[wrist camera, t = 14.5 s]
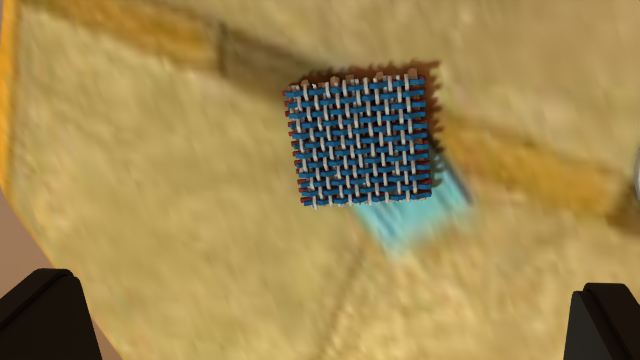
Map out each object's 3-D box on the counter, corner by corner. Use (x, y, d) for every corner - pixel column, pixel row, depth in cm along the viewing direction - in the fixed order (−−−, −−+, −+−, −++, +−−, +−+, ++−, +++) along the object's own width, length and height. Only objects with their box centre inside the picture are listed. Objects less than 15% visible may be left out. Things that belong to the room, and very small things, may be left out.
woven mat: (282, 79, 40) (275, 85, 38) (424, 64, 38) (424, 69, 36) (302, 203, 44) (297, 214, 42) (432, 195, 41) (433, 206, 40)
